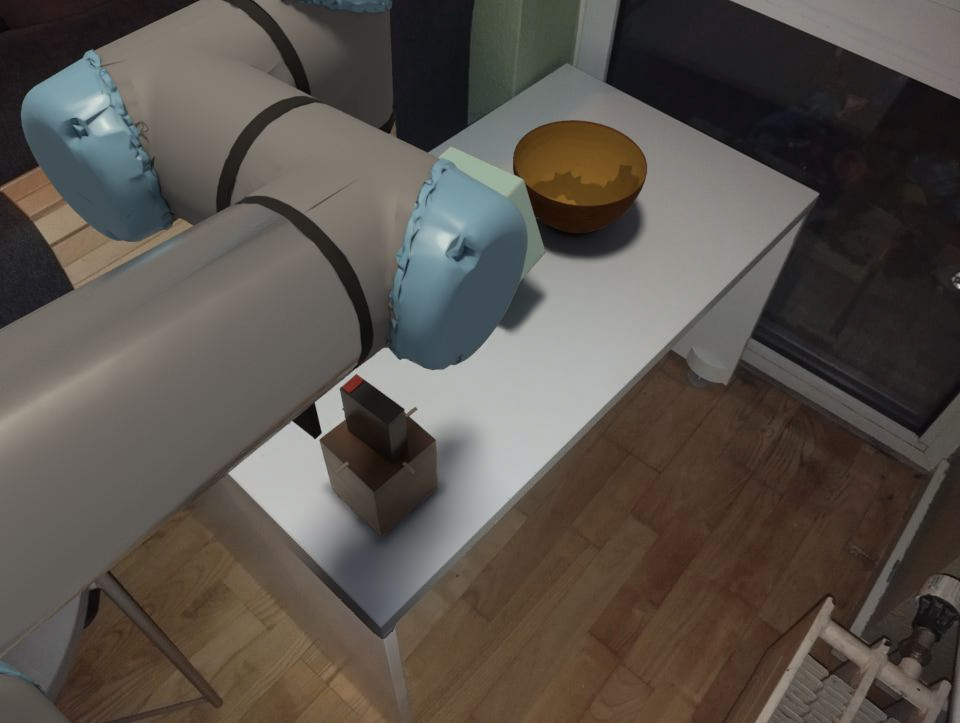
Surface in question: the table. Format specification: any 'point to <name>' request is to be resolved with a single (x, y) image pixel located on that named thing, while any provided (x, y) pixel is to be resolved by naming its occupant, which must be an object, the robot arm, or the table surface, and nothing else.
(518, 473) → the table surface
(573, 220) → the bowl
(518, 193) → the sage hexagonal prism
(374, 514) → the pegged wooden cube
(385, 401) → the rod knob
